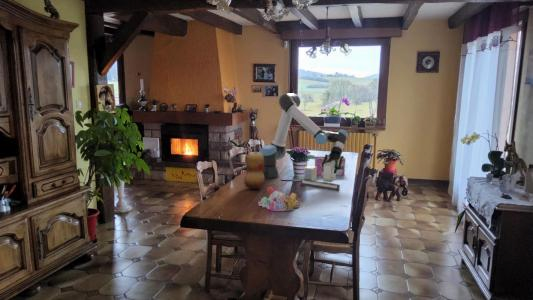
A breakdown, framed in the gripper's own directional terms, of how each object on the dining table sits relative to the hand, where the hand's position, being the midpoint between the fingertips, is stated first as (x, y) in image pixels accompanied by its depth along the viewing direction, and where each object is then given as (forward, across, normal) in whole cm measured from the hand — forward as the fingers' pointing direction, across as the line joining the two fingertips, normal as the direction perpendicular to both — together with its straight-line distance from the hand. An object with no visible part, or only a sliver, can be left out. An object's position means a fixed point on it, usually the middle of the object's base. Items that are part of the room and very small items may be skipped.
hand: (327, 176), depth 256 cm
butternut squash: (+27, +39, +16) cm, 51 cm away
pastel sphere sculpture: (+43, +8, +30) cm, 53 cm away
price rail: (+7, +4, -4) cm, 10 cm away
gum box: (-22, +15, -34) cm, 43 cm away
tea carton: (0, 0, -5) cm, 5 cm away
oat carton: (+3, +14, -8) cm, 17 cm away
